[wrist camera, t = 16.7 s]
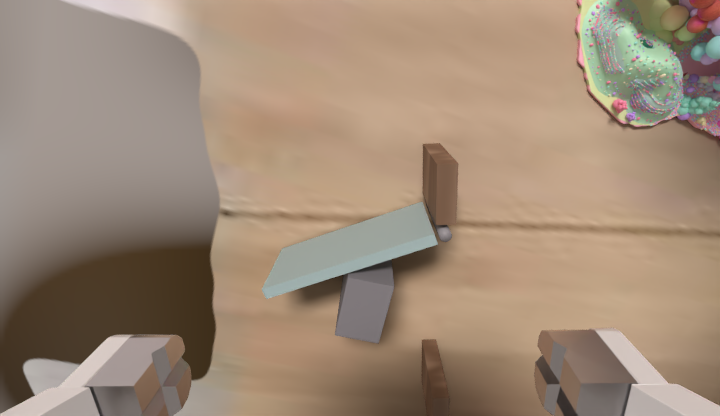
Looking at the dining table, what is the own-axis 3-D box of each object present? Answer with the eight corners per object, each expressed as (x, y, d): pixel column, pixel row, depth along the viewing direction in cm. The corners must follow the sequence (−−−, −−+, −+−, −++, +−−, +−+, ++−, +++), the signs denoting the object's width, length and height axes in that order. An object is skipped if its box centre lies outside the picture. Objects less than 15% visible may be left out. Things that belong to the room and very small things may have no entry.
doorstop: (389, 242, 41) (394, 286, 33) (377, 290, 43) (378, 343, 35) (352, 234, 41) (348, 277, 33) (342, 282, 43) (334, 335, 35)
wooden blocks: (439, 143, 38) (458, 163, 29) (435, 380, 47) (447, 444, 39) (423, 144, 38) (437, 164, 30) (421, 380, 47) (432, 444, 39)
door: (437, 206, 39) (453, 239, 32) (286, 256, 42) (266, 298, 34) (434, 197, 39) (449, 228, 31) (282, 248, 41) (261, 289, 34)
